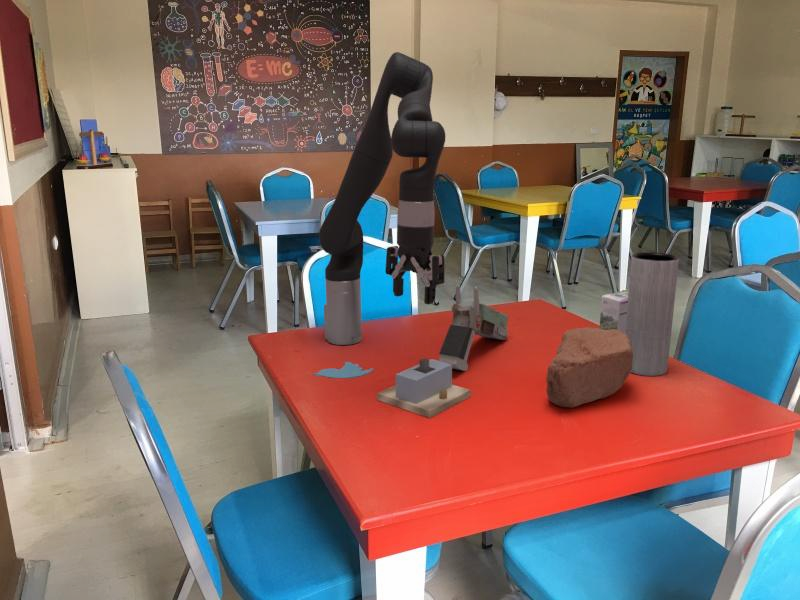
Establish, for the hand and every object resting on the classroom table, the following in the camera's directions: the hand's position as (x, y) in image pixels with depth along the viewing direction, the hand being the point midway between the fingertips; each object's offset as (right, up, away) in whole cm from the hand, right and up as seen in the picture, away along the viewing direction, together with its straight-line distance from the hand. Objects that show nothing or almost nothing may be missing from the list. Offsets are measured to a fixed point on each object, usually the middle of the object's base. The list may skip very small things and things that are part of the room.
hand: (413, 299), depth 137 cm
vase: (+55, -17, +17) cm, 60 cm away
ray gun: (+16, -14, +28) cm, 35 cm away
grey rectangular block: (+2, -19, +1) cm, 20 cm away
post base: (+2, -21, +1) cm, 21 cm away
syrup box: (+52, -13, +30) cm, 61 cm away
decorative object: (-16, -18, +16) cm, 29 cm away
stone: (+36, -21, +2) cm, 42 cm away
